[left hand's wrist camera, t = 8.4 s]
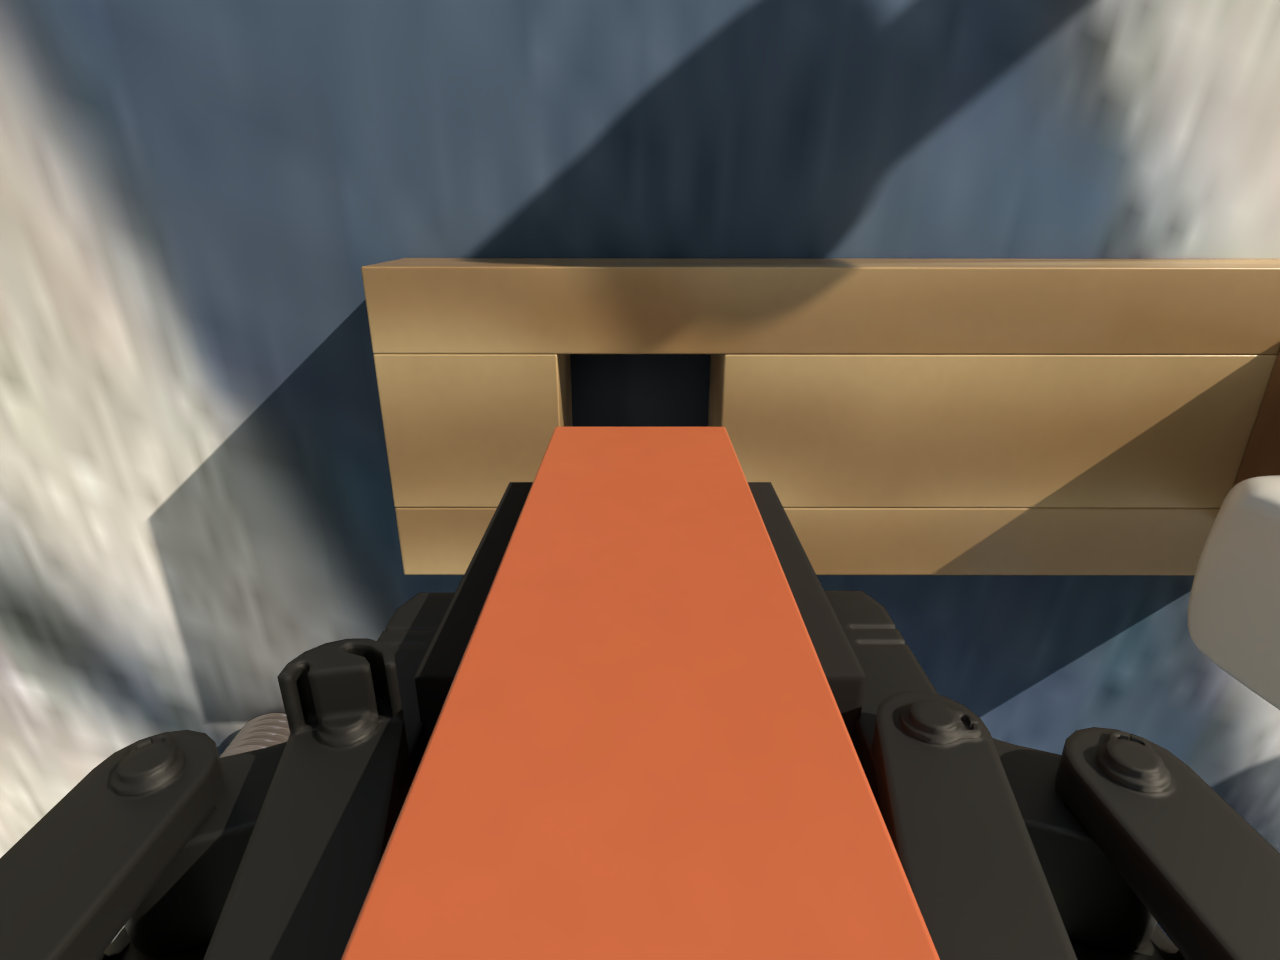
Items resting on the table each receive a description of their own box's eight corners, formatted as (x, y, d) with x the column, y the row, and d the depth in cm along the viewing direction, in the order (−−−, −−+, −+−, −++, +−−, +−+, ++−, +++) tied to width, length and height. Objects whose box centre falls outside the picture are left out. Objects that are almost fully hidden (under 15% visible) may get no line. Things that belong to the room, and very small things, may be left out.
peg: (554, 426, 16) (181, 1339, 3) (725, 426, 16) (1099, 1336, 3) (561, 577, 18) (329, 1641, 4) (718, 577, 18) (950, 1641, 4)
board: (404, 257, 23) (189, 300, 12) (1404, 259, 23) (2106, 301, 12) (436, 525, 27) (292, 747, 16) (1301, 526, 27) (1769, 747, 16)
